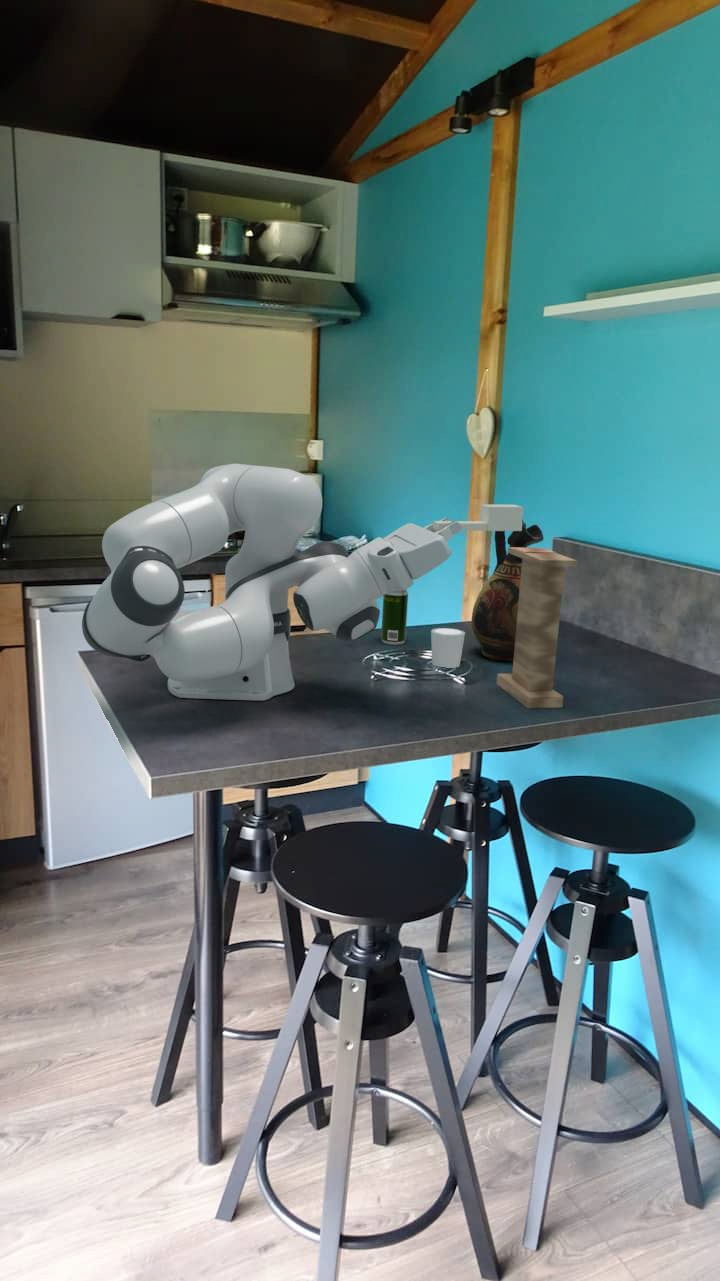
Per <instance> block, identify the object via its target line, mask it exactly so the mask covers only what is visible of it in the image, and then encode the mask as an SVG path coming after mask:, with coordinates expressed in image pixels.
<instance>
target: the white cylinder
mask: <svg viewBox="0 0 720 1281" xmlns="http://www.w3.org/2000/svg"><path fill="white" fill-rule="evenodd" d="M430 630H431V631H430V637H431V638H430V639H431V640H430V641H431V644H430V645H431V665H432V664H433V665H436V666H440V667H446V668H453V669H457V668H456V667H458V668H459V667H460V666H461V661H462V660H461V659H462V653H463V647H464V641H465V634H466V632H465V631H464V630H461V629H458V628H451V627H438V628H437V627H436V628H432V629H430ZM433 665H432V666H433ZM446 668H445V669H446Z"/></svg>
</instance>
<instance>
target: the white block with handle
mask: <svg viewBox="0 0 720 1281" xmlns="http://www.w3.org/2000/svg"><path fill="white" fill-rule="evenodd" d="M523 517H524V506H520V505H516V504H482V503H481V504H480V519H479V520H477V521H474V520H472V521H468V520H467V521H465V520H464V521H463V520H461V521H460V520H459V521H458V520H455V521H456V522H458V523H459V524H460V526H461V528H462V529H461V531H465V532H466V531H473V532H475V531H476V532H477V531H478V532H479V531H480V532H481V531H483V532H484V531H487V532H495V531H505V532H513V531H522V520H523V521H524V519H523ZM452 521H453V520H451V521H441V520H435V521H432V524H433V529H436V530H438V531H440V530H442V529H443V528H445V527H446V525H447V524H449V523H451V522H452ZM461 531H460V532H461Z"/></svg>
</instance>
